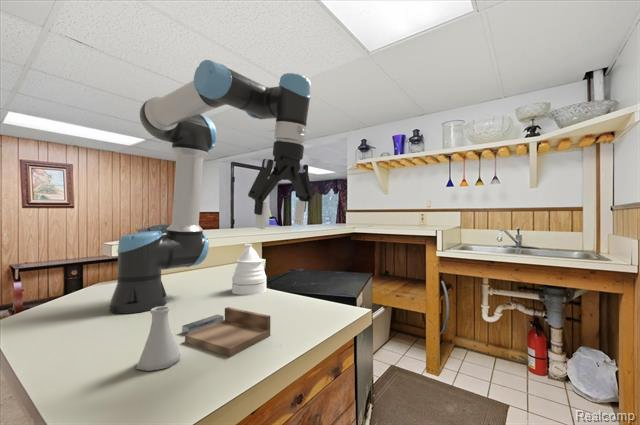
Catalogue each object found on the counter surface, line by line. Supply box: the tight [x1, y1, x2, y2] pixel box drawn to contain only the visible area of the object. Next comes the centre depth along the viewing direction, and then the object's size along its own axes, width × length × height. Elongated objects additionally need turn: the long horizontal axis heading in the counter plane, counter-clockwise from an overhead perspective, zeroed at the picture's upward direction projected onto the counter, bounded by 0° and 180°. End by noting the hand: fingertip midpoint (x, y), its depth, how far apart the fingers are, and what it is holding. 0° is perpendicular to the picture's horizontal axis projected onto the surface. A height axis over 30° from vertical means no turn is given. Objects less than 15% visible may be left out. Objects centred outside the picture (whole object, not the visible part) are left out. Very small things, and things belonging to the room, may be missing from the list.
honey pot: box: [231, 243, 267, 296], centre depth 110 cm, size 13×13×18 cm
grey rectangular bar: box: [181, 313, 225, 335], centre depth 71 cm, size 2×10×2 cm, turn 148°
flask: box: [135, 305, 181, 372], centre depth 53 cm, size 7×7×10 cm
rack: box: [184, 306, 271, 358], centre depth 64 cm, size 14×12×4 cm
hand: (280, 226), depth 73 cm, fingers open, 13 cm apart
